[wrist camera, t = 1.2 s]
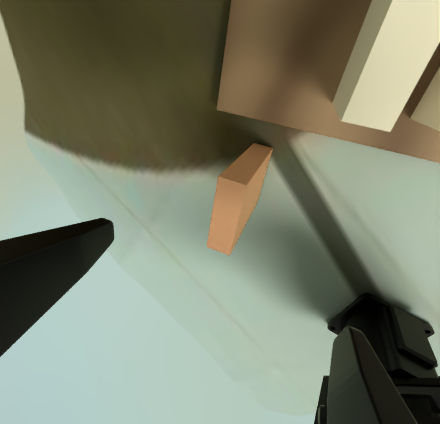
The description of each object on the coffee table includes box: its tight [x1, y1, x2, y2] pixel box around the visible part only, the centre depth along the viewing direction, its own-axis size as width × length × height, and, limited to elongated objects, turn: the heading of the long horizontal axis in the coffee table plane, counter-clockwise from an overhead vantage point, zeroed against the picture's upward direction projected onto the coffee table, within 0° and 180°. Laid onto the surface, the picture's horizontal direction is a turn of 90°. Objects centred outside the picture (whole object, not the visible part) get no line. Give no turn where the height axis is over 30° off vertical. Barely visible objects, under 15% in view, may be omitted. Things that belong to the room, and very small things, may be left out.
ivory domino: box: [332, 0, 440, 132], centre depth 10 cm, size 2×5×8 cm, turn 168°
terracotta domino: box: [207, 143, 273, 255], centre depth 17 cm, size 2×5×8 cm, turn 169°
